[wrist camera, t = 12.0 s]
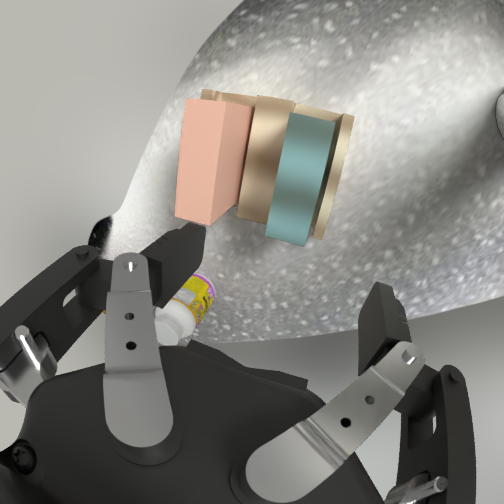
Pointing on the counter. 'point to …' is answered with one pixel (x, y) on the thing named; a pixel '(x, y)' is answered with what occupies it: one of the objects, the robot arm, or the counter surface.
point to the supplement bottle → (184, 310)
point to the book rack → (290, 165)
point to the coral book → (211, 158)
